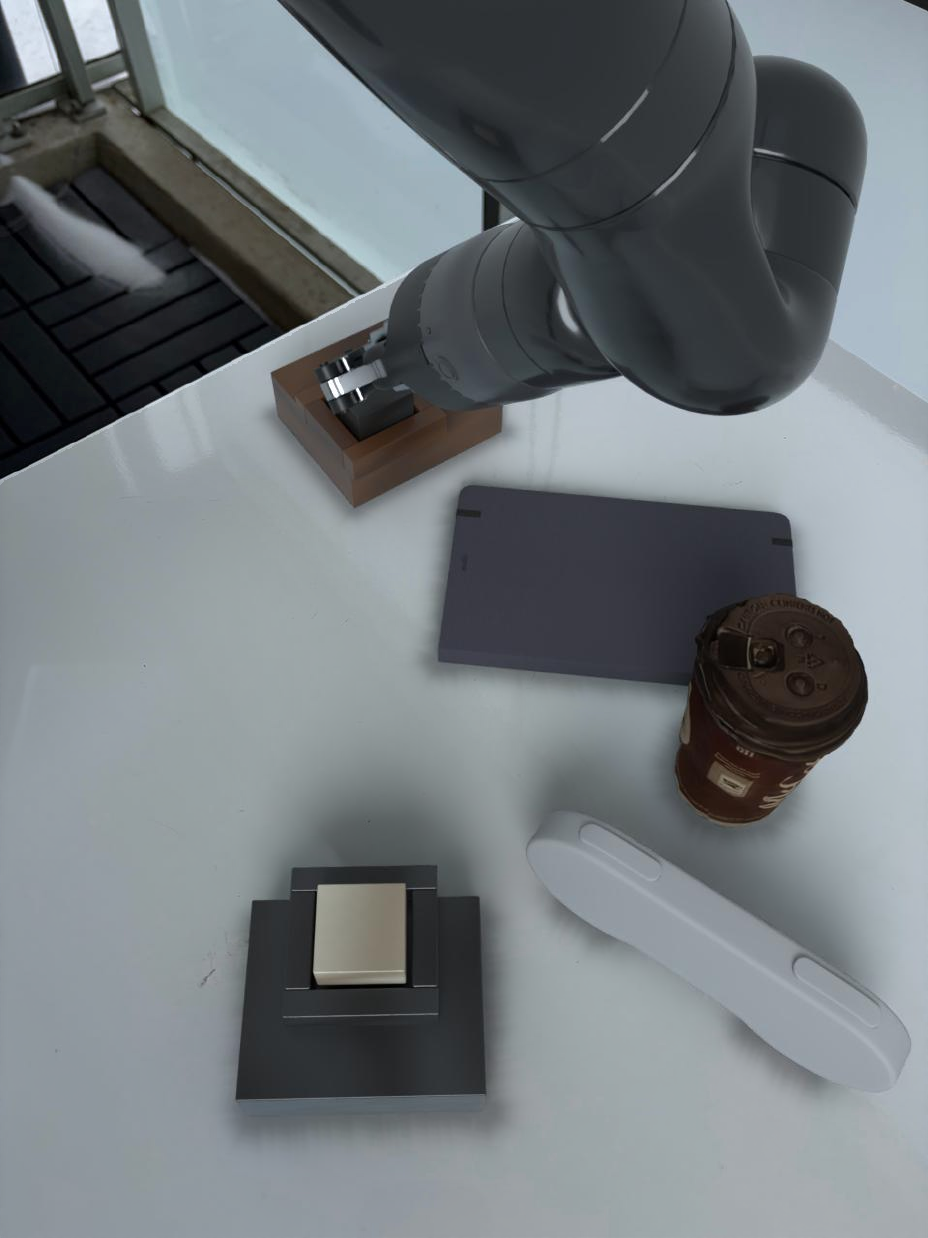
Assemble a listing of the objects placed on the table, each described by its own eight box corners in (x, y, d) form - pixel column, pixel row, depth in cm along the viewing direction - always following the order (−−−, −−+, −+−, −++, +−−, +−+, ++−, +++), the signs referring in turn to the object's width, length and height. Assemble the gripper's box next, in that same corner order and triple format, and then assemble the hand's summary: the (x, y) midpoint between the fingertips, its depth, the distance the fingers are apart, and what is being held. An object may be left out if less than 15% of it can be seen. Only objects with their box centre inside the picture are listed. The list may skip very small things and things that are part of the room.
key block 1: (358, 524, 70) (352, 462, 65) (272, 419, 75) (260, 354, 70) (512, 443, 74) (517, 379, 69) (420, 348, 79) (419, 282, 74)
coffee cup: (618, 766, 61) (657, 644, 50) (713, 680, 64) (770, 548, 53) (739, 877, 58) (809, 771, 47) (833, 780, 61) (919, 661, 50)
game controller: (879, 1066, 52) (946, 1027, 46) (859, 1108, 51) (925, 1074, 44) (542, 844, 58) (555, 779, 51) (518, 878, 57) (529, 816, 50)
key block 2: (248, 1117, 51) (227, 1094, 46) (265, 908, 56) (247, 867, 51) (483, 1111, 51) (487, 1088, 46) (476, 904, 56) (480, 863, 51)
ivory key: (317, 986, 49) (312, 973, 47) (321, 899, 51) (317, 884, 49) (406, 984, 49) (405, 971, 47) (406, 897, 51) (405, 882, 49)
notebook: (437, 662, 65) (796, 697, 64) (437, 648, 63) (804, 683, 62) (459, 498, 72) (783, 528, 71) (460, 483, 70) (790, 512, 69)
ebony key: (360, 442, 67) (358, 418, 65) (326, 403, 68) (323, 379, 67) (414, 415, 68) (413, 391, 66) (379, 377, 70) (378, 353, 68)
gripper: (581, 189, 50) (433, 263, 66) (339, 295, 46) (241, 348, 62) (637, 342, 52) (480, 379, 68) (411, 457, 48) (298, 468, 64)
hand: (367, 364), depth 65 cm, fingers closed
